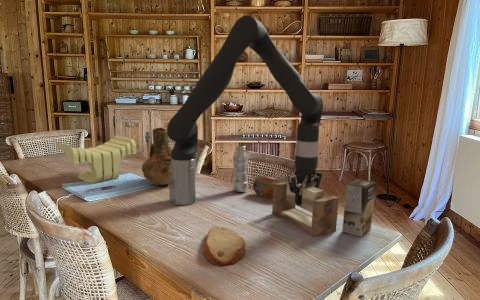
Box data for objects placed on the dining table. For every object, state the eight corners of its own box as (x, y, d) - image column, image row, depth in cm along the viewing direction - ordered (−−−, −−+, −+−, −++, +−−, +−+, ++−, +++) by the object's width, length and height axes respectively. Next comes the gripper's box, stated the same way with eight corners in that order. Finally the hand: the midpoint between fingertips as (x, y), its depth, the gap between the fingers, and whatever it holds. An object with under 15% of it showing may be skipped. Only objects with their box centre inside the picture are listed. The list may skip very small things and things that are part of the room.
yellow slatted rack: (76, 188, 153) (73, 147, 150) (58, 181, 163) (55, 142, 160) (137, 175, 176) (135, 138, 172) (118, 169, 186) (117, 134, 182)
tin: (252, 194, 152) (253, 175, 150) (256, 192, 154) (257, 173, 153) (284, 202, 143) (285, 181, 142) (288, 200, 146) (289, 180, 144)
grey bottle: (246, 194, 151) (247, 147, 147) (230, 193, 153) (231, 146, 149) (249, 190, 157) (250, 144, 153) (233, 188, 159) (234, 143, 155)
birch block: (313, 213, 116) (314, 191, 115) (286, 200, 128) (287, 180, 127) (322, 211, 118) (323, 190, 117) (294, 198, 130) (296, 179, 129)
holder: (316, 237, 112) (319, 203, 110) (271, 213, 131) (272, 183, 129) (337, 231, 117) (340, 198, 115) (290, 208, 136) (291, 180, 134)
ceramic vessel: (153, 195, 147) (151, 134, 142) (135, 179, 169) (133, 125, 164) (192, 189, 156) (192, 131, 151) (170, 175, 177) (169, 124, 172)
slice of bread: (218, 229, 117) (218, 218, 116) (264, 246, 106) (265, 234, 105) (176, 249, 103) (176, 237, 102) (224, 271, 92) (225, 257, 92)
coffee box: (361, 237, 113) (366, 188, 110) (341, 231, 117) (345, 183, 114) (371, 228, 120) (376, 181, 117) (353, 223, 124) (357, 178, 121)
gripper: (297, 158, 113) (295, 210, 116) (330, 154, 120) (326, 203, 124) (282, 153, 119) (280, 203, 122) (314, 150, 126) (311, 197, 130)
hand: (303, 203), depth 123 cm, fingers closed on birch block, 4 cm apart
